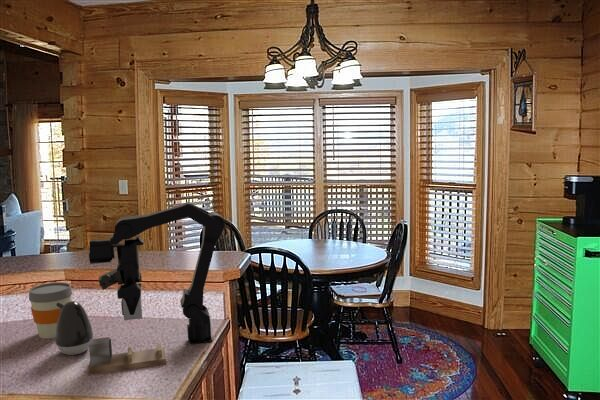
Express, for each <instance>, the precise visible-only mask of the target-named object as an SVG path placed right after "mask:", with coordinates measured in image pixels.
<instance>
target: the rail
mask: <svg viewBox="0 0 600 400" xmlns="http://www.w3.org/2000/svg"><path fill="white" fill-rule="evenodd" d="M156 346H157V348H150V349H142V350H137V351H136V350H134V351H133V349H132V348H133V347H132V346H129V347H127V352H120V353H114V354H113V349H112V339H111V338H110V336H108V337H107V336H106V337H99V338H93V339H90V342H89V348H88V349H89V350H88V351H89V363H88V367H87V368H88V369H87V375H88V376H92V375H93V376H94V375H99V374H107V373H113V372H118V371H126V370H132V369H140V368H146V367H147V368H148V367H153V366H161V365H166V364H167V358H166V350H165V347H162V343H161V342H160V343H157V345H156Z"/></svg>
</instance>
